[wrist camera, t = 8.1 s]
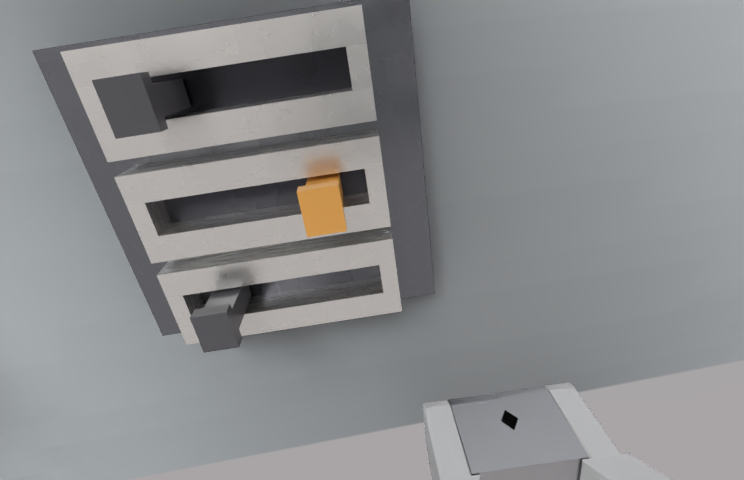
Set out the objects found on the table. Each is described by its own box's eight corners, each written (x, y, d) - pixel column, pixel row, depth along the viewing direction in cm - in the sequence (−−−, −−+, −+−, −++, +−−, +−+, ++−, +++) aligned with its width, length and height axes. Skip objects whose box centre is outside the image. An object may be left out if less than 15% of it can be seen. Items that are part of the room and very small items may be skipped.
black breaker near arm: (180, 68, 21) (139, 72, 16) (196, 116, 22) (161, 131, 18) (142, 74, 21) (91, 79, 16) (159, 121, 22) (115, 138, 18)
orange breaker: (339, 161, 23) (338, 185, 19) (346, 200, 24) (346, 231, 20) (304, 166, 23) (296, 191, 19) (313, 205, 24) (307, 237, 20)
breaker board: (403, -4, 22) (414, -15, 18) (429, 278, 30) (441, 310, 26) (57, 50, 22) (1, 50, 18) (173, 318, 30) (150, 355, 26)
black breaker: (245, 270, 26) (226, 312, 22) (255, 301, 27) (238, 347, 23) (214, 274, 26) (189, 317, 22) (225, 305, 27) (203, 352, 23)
